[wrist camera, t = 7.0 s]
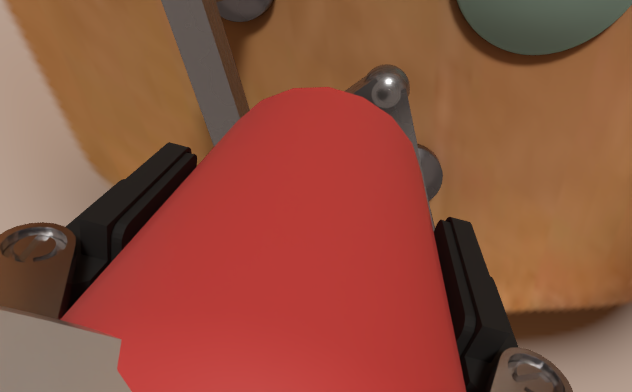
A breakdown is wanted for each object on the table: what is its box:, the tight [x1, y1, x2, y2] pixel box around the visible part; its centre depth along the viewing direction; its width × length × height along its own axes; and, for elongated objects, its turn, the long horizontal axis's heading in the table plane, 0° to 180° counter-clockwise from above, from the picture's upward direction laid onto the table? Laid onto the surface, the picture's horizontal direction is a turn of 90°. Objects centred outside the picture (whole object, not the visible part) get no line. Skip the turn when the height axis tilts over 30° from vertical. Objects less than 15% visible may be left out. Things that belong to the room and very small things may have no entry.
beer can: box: [60, 87, 466, 392], centre depth 9 cm, size 7×7×12 cm
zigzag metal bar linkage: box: [161, 0, 443, 231], centre depth 23 cm, size 17×13×9 cm
